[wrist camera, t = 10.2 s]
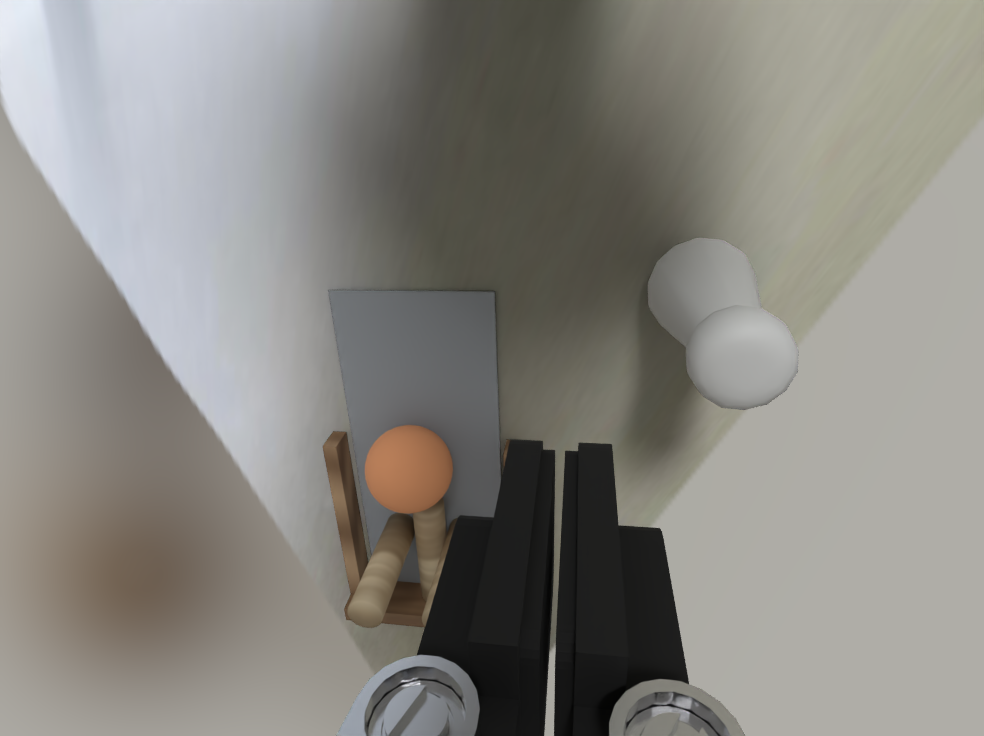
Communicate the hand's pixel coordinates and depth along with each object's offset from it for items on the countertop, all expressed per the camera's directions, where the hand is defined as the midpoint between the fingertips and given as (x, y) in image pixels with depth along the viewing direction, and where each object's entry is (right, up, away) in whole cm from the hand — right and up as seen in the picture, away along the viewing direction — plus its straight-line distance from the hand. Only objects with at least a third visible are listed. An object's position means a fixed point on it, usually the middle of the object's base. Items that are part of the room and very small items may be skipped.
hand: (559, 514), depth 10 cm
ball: (-7, -4, +30) cm, 31 cm away
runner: (-6, -4, +33) cm, 34 cm away
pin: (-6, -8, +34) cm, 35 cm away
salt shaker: (+11, +8, +25) cm, 28 cm away
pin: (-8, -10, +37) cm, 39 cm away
